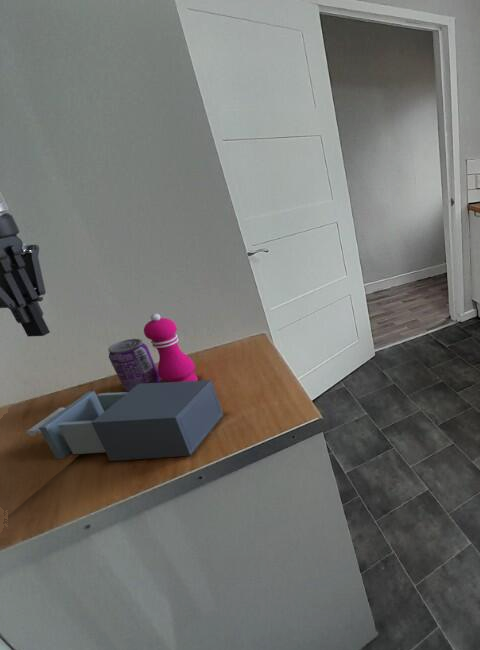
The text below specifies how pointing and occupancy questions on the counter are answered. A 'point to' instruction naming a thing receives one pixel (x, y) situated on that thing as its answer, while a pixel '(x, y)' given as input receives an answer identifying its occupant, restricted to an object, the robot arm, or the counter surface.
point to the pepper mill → (169, 351)
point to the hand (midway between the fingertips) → (38, 334)
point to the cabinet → (159, 420)
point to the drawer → (76, 425)
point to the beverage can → (133, 363)
